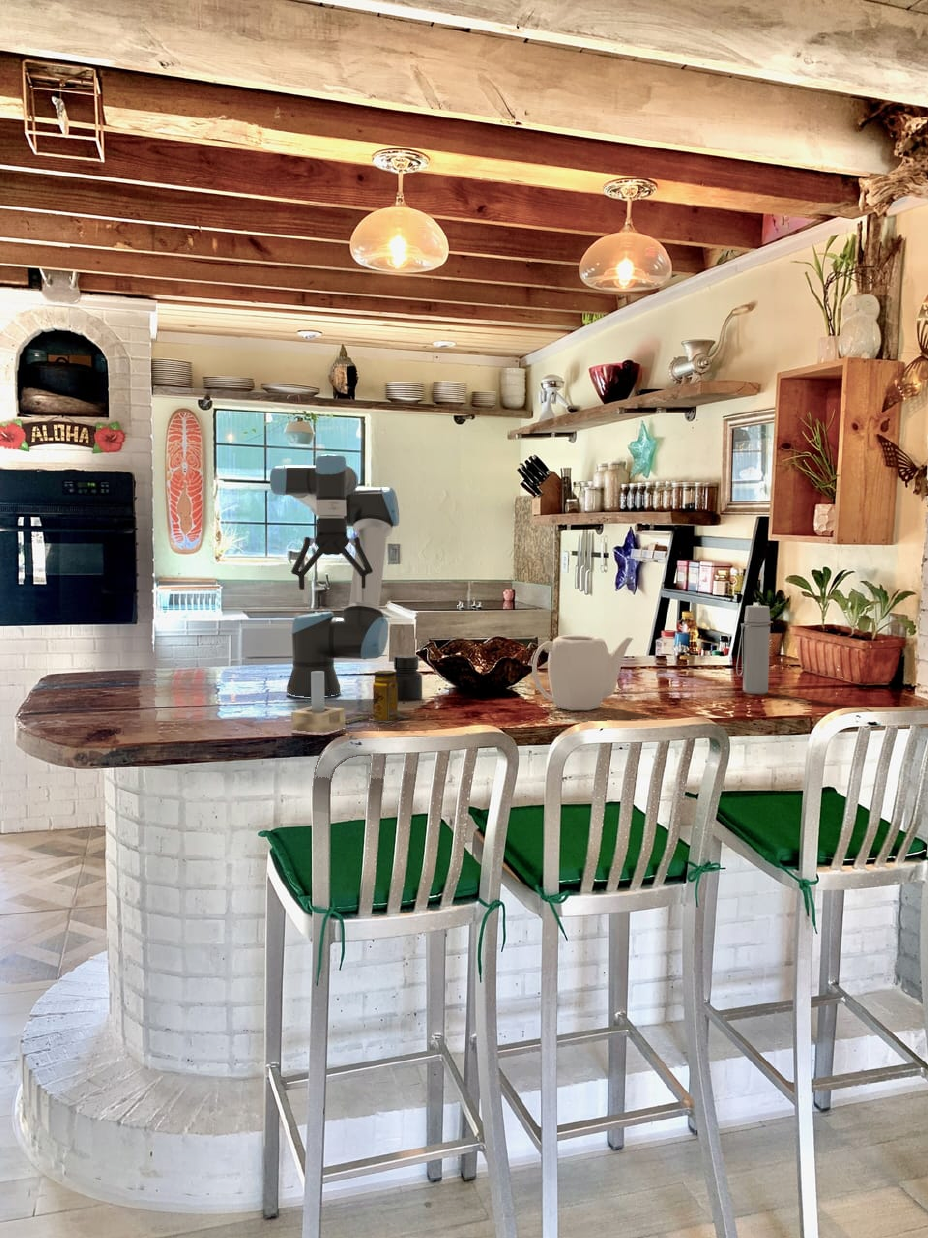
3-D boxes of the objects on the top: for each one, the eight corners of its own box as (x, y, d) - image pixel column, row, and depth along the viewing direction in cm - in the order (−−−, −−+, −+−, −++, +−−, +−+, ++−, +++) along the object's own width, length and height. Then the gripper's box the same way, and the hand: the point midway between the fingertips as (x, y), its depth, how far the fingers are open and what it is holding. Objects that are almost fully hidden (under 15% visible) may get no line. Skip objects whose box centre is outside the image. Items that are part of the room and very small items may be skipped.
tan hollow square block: (291, 733, 224) (291, 711, 223) (314, 725, 232) (313, 705, 231) (323, 737, 220) (323, 715, 219) (345, 729, 228) (345, 708, 227)
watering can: (637, 713, 248) (639, 640, 246) (534, 713, 248) (535, 640, 246) (626, 702, 264) (627, 633, 262) (529, 702, 263) (529, 633, 261)
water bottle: (765, 690, 282) (768, 605, 279) (771, 695, 274) (774, 607, 272) (733, 690, 283) (735, 605, 280) (738, 694, 275) (740, 607, 273)
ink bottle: (395, 695, 274) (395, 653, 273) (425, 696, 272) (425, 654, 271) (386, 701, 264) (385, 658, 263) (417, 702, 262) (417, 659, 261)
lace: (337, 726, 232) (337, 722, 232) (334, 725, 232) (334, 722, 232) (366, 719, 240) (365, 716, 240) (363, 718, 240) (363, 715, 240)
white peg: (309, 732, 225) (308, 672, 224) (316, 729, 228) (316, 670, 227) (320, 733, 224) (319, 673, 223) (327, 730, 227) (326, 671, 225)
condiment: (366, 719, 240) (365, 672, 238) (390, 714, 246) (389, 668, 245) (387, 723, 235) (386, 675, 234) (410, 718, 241) (410, 671, 240)
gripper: (283, 517, 233) (284, 604, 235) (383, 517, 241) (384, 602, 243) (279, 517, 240) (280, 602, 242) (377, 517, 248) (377, 600, 250)
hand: (332, 602), depth 243 cm, fingers open, 13 cm apart
